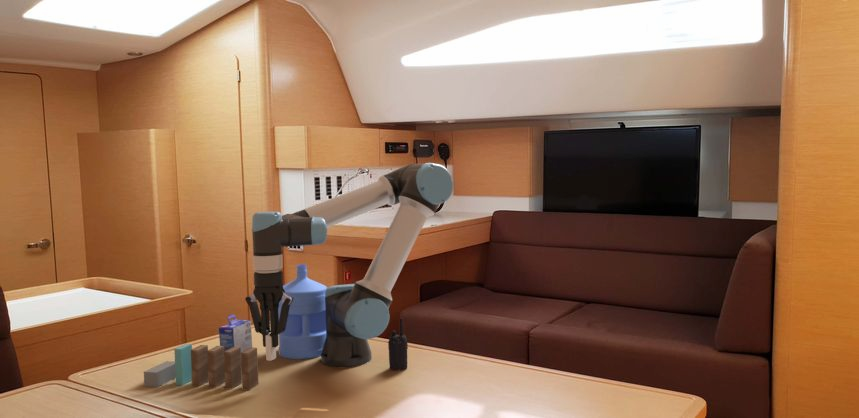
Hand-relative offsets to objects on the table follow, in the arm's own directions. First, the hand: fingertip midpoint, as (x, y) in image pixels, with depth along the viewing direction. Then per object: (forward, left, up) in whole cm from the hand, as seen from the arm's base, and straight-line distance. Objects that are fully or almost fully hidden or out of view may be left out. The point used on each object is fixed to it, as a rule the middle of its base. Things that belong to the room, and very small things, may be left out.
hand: (271, 358), depth 175 cm
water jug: (+5, -32, -8) cm, 34 cm away
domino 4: (+6, 0, -8) cm, 10 cm away
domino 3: (+11, 0, -8) cm, 14 cm away
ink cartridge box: (+21, -19, -8) cm, 30 cm away
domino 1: (+21, 0, -8) cm, 23 cm away
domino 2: (+16, 0, -8) cm, 18 cm away
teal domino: (+26, 0, -8) cm, 28 cm away
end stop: (+33, 0, -8) cm, 34 cm away
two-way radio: (-29, -21, -8) cm, 36 cm away
